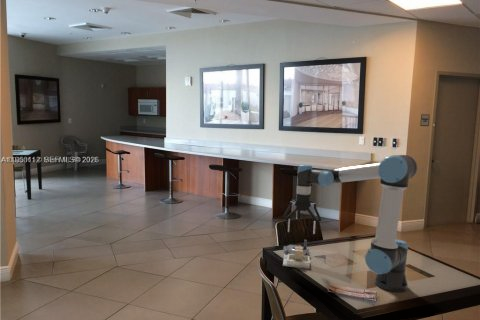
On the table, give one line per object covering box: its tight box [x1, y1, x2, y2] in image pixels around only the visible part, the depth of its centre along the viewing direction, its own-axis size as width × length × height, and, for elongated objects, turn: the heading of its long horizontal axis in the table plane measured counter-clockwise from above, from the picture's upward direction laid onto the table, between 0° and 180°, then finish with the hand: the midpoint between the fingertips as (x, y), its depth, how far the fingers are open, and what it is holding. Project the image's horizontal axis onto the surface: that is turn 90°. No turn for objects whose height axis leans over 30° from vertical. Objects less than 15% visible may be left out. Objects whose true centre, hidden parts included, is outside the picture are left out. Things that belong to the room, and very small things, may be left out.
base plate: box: [282, 252, 311, 270], centre depth 218 cm, size 30×14×3 cm, turn 171°
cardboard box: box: [294, 246, 304, 261], centre depth 209 cm, size 7×4×7 cm, turn 172°
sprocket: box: [282, 239, 311, 256], centre depth 223 cm, size 16×16×7 cm
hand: (301, 232), depth 207 cm, fingers open, 13 cm apart
